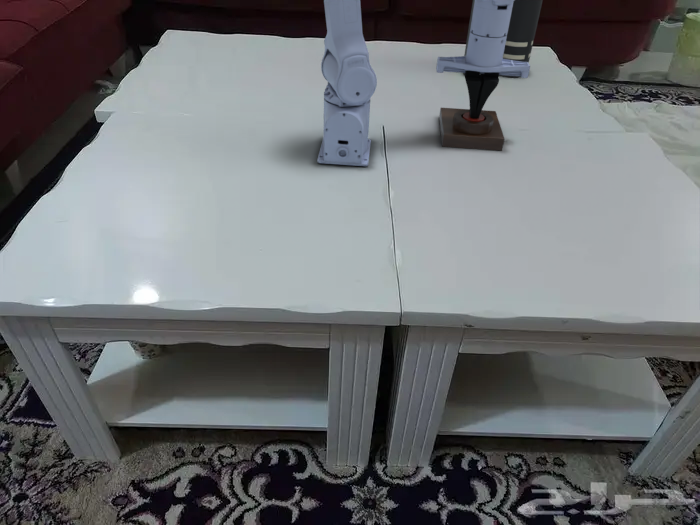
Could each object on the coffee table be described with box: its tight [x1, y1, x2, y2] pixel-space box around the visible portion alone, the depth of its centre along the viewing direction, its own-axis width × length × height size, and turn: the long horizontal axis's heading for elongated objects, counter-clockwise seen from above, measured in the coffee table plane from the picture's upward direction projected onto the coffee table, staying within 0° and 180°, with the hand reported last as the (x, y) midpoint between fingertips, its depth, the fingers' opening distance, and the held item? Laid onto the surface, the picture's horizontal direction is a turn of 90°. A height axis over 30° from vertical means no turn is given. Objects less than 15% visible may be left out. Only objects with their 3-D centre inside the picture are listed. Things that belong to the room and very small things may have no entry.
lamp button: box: [463, 112, 485, 122], centre depth 97 cm, size 4×4×2 cm
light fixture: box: [463, 0, 544, 78], centre depth 124 cm, size 10×14×18 cm
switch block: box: [438, 107, 505, 151], centre depth 100 cm, size 12×10×4 cm
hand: (474, 116), depth 97 cm, fingers closed, pressing on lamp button
